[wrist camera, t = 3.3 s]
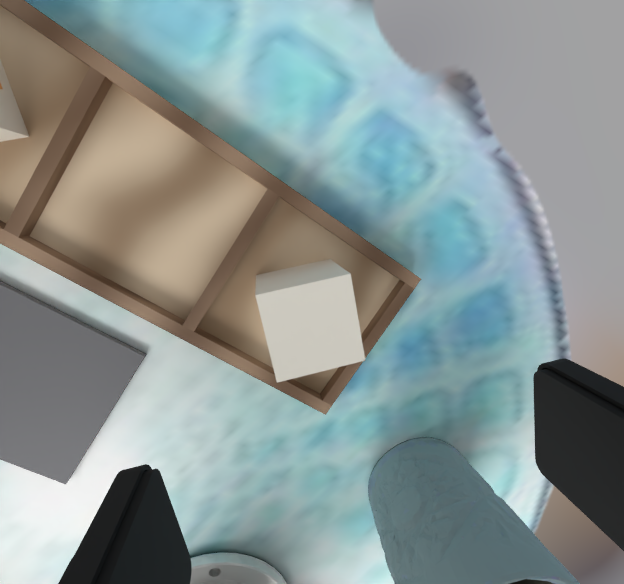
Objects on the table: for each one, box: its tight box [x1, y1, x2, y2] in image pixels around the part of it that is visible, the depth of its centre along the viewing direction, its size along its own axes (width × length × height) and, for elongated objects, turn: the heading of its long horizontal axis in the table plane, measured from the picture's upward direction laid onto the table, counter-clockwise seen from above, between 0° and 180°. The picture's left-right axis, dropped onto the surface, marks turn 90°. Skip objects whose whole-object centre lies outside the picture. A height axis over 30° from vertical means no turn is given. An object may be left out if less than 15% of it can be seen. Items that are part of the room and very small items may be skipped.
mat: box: [0, 281, 146, 484], centre depth 23 cm, size 11×11×1 cm
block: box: [255, 259, 365, 383], centre depth 21 cm, size 5×5×6 cm
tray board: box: [0, 0, 421, 415], centre depth 21 cm, size 33×12×1 cm, turn 56°
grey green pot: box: [368, 437, 580, 584], centre depth 24 cm, size 10×10×12 cm
